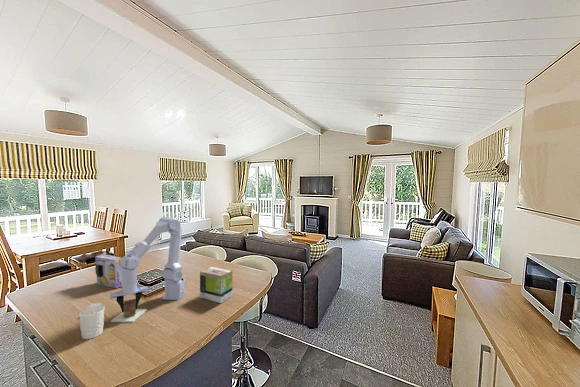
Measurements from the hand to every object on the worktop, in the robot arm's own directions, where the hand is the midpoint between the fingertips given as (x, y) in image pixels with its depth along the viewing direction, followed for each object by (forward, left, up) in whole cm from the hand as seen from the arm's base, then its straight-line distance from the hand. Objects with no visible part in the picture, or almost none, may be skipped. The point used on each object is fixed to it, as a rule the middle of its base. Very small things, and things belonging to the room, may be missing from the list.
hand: (129, 309), depth 110 cm
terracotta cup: (+13, +2, -3) cm, 13 cm away
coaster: (0, 0, -3) cm, 3 cm away
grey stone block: (+18, -1, -3) cm, 18 cm away
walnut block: (0, 0, -2) cm, 2 cm away
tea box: (-34, -20, -3) cm, 40 cm away
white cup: (+6, +14, -3) cm, 15 cm away
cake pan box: (+35, -31, -3) cm, 47 cm away
